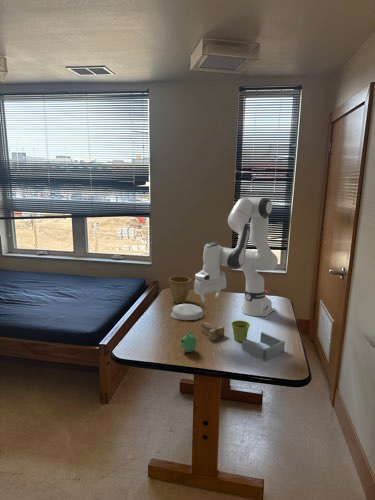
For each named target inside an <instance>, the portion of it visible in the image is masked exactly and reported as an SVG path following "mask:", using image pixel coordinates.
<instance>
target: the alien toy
mask: <svg viewBox="0 0 375 500" xmlns="http://www.w3.org/2000/svg"><path fill="white" fill-rule="evenodd" d="M192 332H193V331H192V330H189V331H188V333H186V334H185V335H184V336H183V337H182V339H181V341H180V342H179V343H180V345H181V347H182V349H183V351H185V352H186V353H192V352H193V351H194V350H195V349H196V347H197V338H196V336H194V335H193V334H192Z"/></svg>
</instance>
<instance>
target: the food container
mask: <svg viewBox="0 0 375 500" xmlns="http://www.w3.org/2000/svg"><path fill="white" fill-rule="evenodd" d="M171 309H172V312H171V314H170V316H171V317H172V319H176V320H182V321H197V320H198V319H199V320H200V319H202V318H203V317H204V313H203V308H202V307H201V306H200V305H197V304H192V303H182V304H177V305H173V307H172V308H171Z"/></svg>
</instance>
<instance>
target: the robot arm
mask: <svg viewBox="0 0 375 500" xmlns="http://www.w3.org/2000/svg"><path fill="white" fill-rule="evenodd" d="M272 211H273V202H272V201H271V199H269V198H267V197H266V198H265V197H242V198H241V197H240V198H239V199H238V200H237V201H236V203H235V204H234V205H233V207H232V209H231V211H230V213H229V214H228V218H227V224H228V226H229V228H230V229H231V230H232V231H233V232H235V233H236V234H239V236H238V239H237V242H236V247H235V248H231V247H226V246H225V247H224V246H221V245H220V242H218V241H211V242H206V243H205V245H204V247H203V254H202V262H203V266H202V269H201V270H200V271H199V272H197V273H195V275H194V278H195V280H194V283H193V293H194V294H196V295H198V296H200V298H201V302H206V301H207V300H206V299H207V298H206V297H205V294H208V293H212V292H215V294H214V298H215V299H218V298H220V294H221V293H222V292H221V291H222V290H225V289H226V288H227V278H226V272H224V271H221V267H220V266H224V267H228V268H230V269H234V270H237V269H239V268H240V269H241V270H242V272H243V274H244V277H245V289H244V297H243V303H242V306H241V309H242V310H241V313H243V314H245V315H248V316H250V317H251V316H252V317H264V316H265V317H267V316H269V315H270V314H272V313H273V312H272V311H274V310H275V311H276V308H275V307H274V306H273V305H272V301H271V300H270V299H269V298H268V297H267V296H266V295H267V294H269V290H266V289H265V279H264V277H263V276H262V275H261V274H259V273H258V272H257V270H260V271H274V270H275V269H276V268H277V267H278V264H279V259H278V257H277V255H276V254H275V253H274V252H273V251H272V250H271V248H270V246H269V240H268V239H269V223H270V222H269V221H270V220H269V216H270V215H271V213H272ZM250 218H251V219H250ZM249 221H250V224H249ZM248 242H249V243H250V244H252V245H253V246H255V247H256V250H257V251H256V250H250V249H249V250H247V248H248V244H249V243H248ZM272 307H273V308H272ZM275 311H274V312H275ZM271 312H272V313H271ZM269 313H270V314H269ZM268 314H269V315H268Z"/></svg>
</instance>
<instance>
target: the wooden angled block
mask: <svg viewBox="0 0 375 500" xmlns="http://www.w3.org/2000/svg"><path fill="white" fill-rule="evenodd" d="M200 331H201V333H202V334H204V335H206V336H207V337H208V338H207V339H208V341H210V342H211V341H214V340H216V339H219V338H222V337H224V336H225V326H224V325H221V326H219V327H218V326H216V325H214V324H212V323H210V322H203V323H201V330H200Z"/></svg>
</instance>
